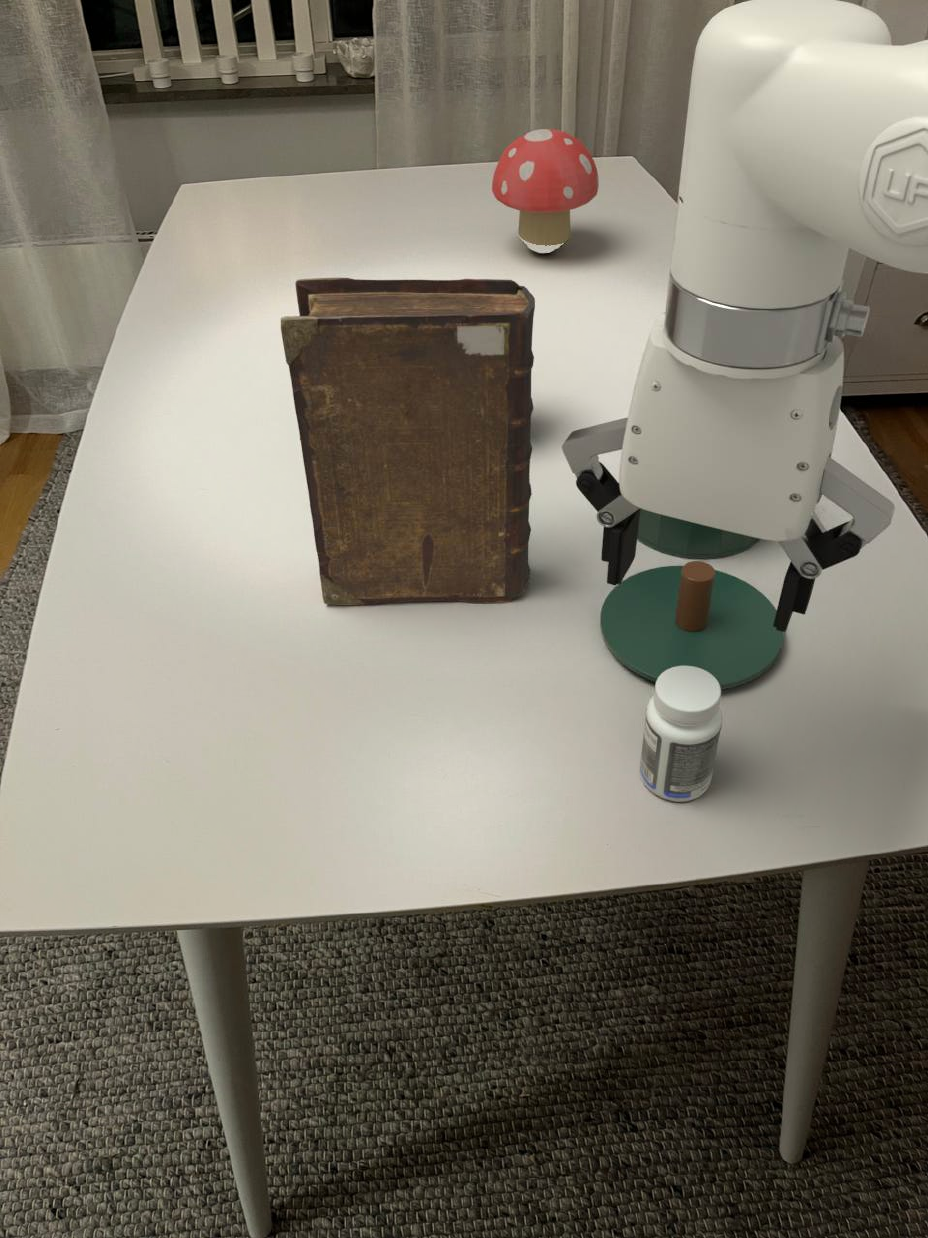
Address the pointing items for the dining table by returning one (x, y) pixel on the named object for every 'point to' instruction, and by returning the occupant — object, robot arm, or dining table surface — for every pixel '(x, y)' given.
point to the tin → (689, 537)
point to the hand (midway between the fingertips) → (700, 592)
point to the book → (415, 435)
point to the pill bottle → (681, 734)
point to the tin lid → (691, 624)
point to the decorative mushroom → (545, 183)
